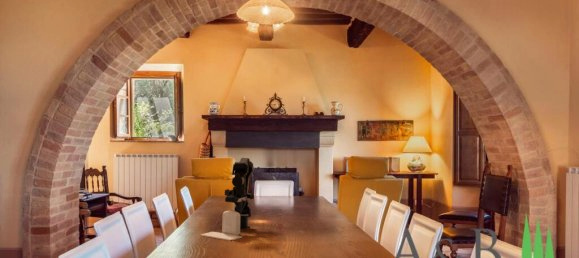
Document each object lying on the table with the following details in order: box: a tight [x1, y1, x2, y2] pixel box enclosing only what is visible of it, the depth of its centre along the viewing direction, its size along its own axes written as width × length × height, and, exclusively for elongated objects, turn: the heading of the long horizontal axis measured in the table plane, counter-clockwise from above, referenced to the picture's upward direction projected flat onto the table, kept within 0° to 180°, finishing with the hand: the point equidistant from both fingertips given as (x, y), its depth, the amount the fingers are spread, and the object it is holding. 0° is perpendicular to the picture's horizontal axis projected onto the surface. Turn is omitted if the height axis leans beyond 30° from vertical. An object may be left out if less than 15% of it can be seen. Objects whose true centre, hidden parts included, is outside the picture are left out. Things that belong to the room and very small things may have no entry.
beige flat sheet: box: [200, 231, 243, 242], centre depth 231 cm, size 9×20×1 cm, turn 58°
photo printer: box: [221, 210, 241, 236], centre depth 238 cm, size 10×4×12 cm, turn 60°
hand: (239, 213), depth 244 cm, fingers closed
